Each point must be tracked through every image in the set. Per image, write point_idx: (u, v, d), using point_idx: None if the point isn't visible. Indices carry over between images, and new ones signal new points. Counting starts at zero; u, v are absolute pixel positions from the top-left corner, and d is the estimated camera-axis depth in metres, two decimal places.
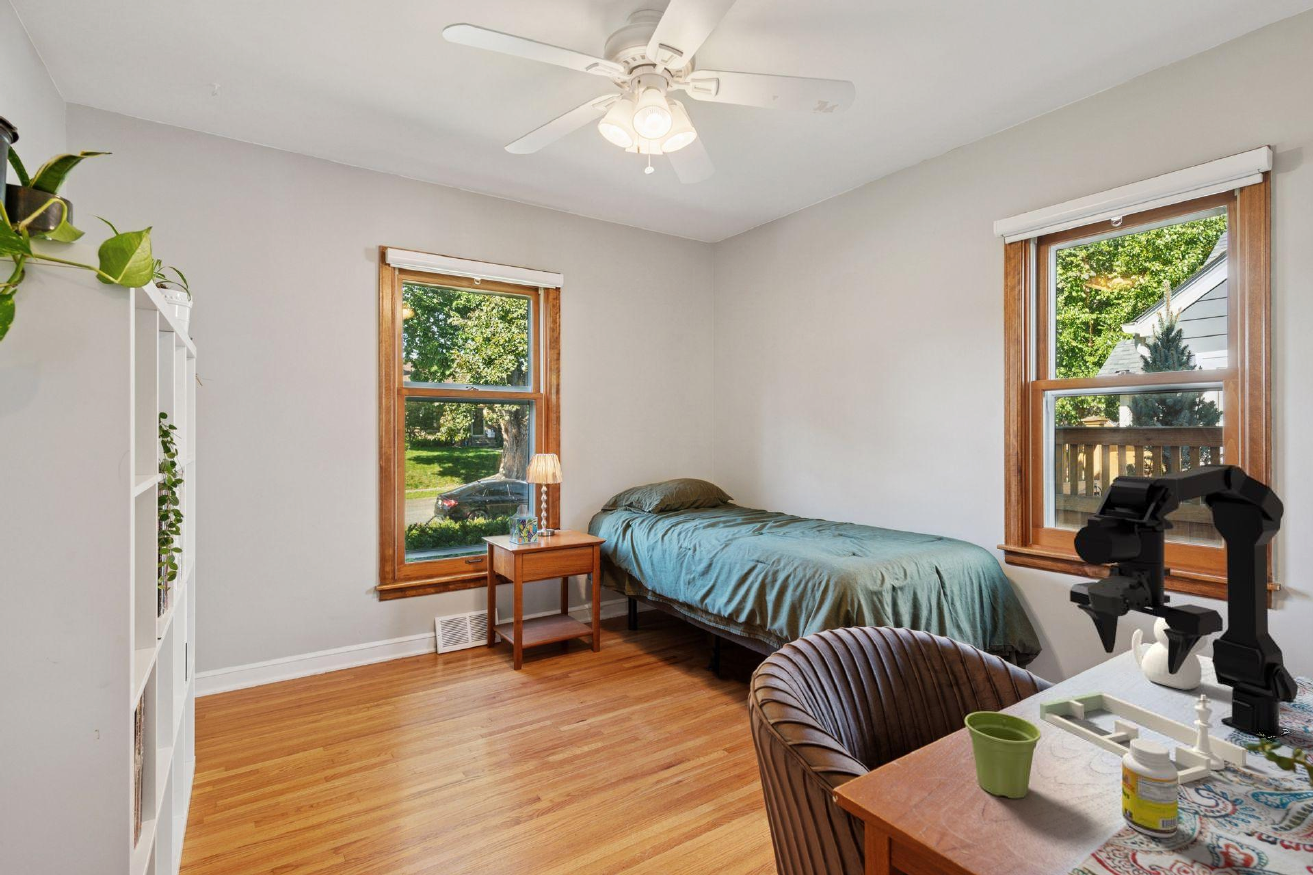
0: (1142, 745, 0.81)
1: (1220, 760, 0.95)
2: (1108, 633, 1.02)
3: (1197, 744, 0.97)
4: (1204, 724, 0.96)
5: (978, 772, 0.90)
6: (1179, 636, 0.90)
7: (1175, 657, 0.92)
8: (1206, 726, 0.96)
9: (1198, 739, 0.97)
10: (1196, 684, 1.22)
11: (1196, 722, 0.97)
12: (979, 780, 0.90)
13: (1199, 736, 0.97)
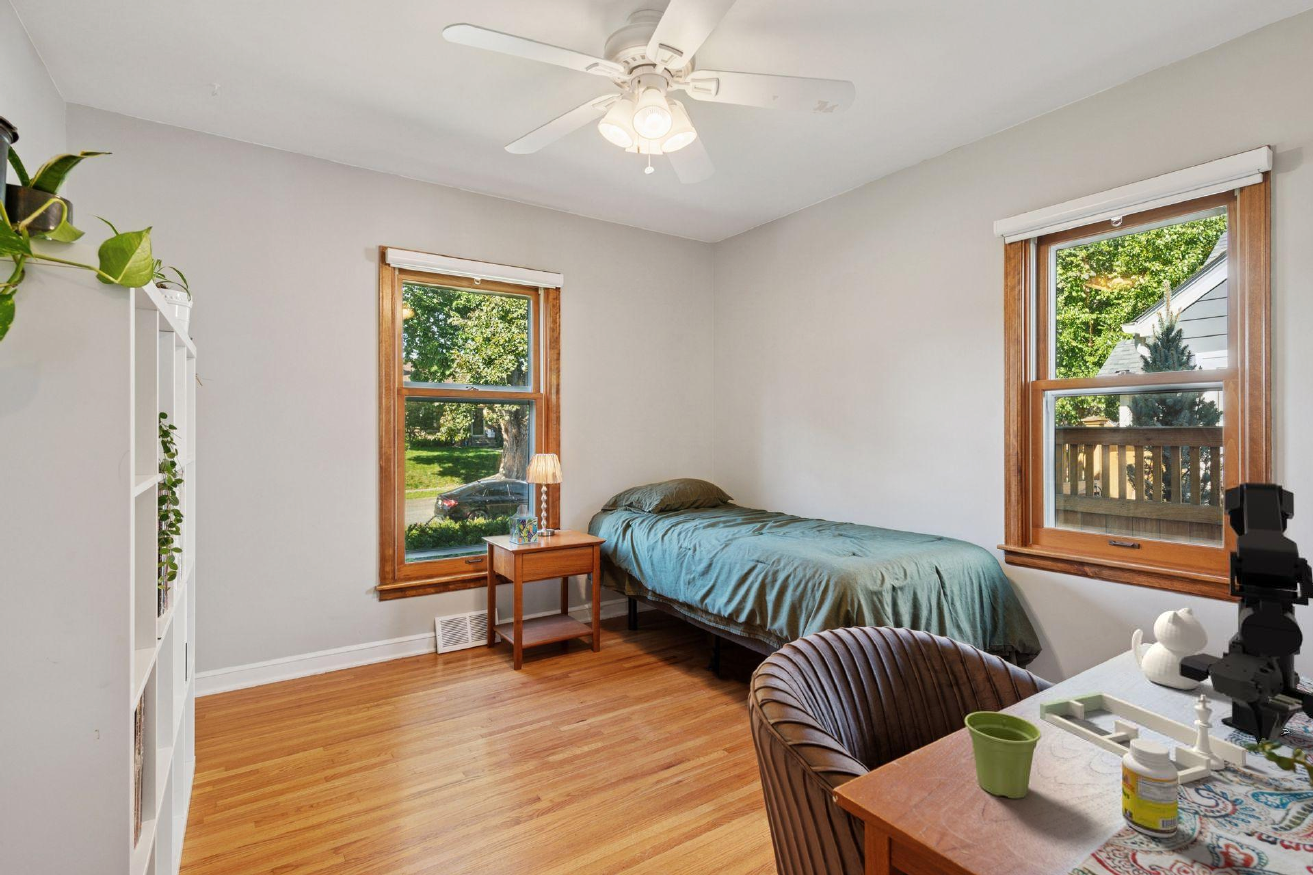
0: (1142, 745, 0.81)
1: (1220, 760, 0.95)
2: (1261, 725, 0.90)
3: (1197, 744, 0.97)
4: (1204, 724, 0.96)
5: (978, 772, 0.90)
6: (1276, 712, 0.86)
7: (1270, 732, 0.88)
8: (1206, 726, 0.96)
9: (1198, 739, 0.97)
10: (1196, 684, 1.22)
11: (1196, 722, 0.97)
12: (979, 780, 0.90)
13: (1199, 736, 0.97)
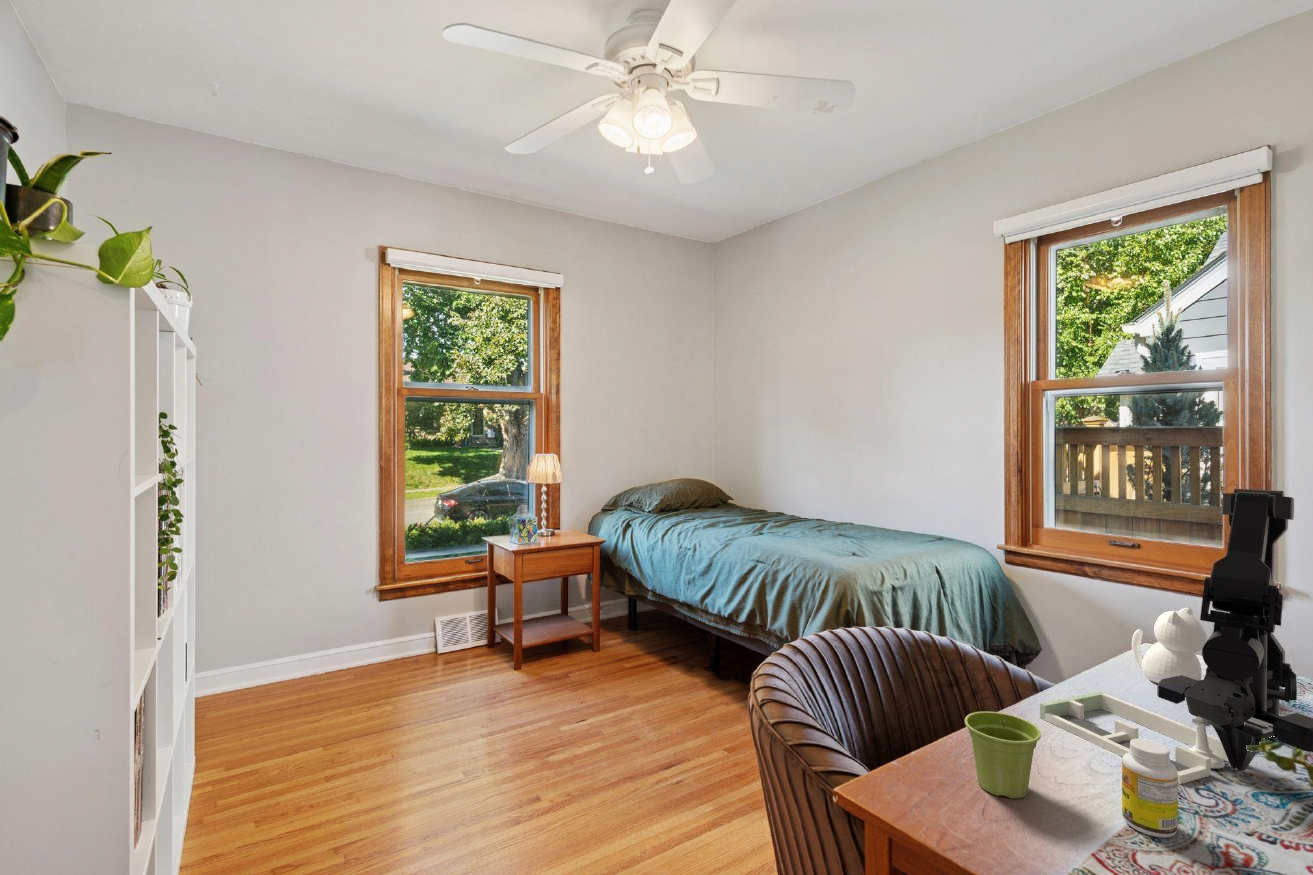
0: (1142, 745, 0.81)
1: (1220, 758, 0.95)
2: (1234, 746, 0.93)
3: (1196, 743, 0.97)
4: (1202, 723, 0.96)
5: (978, 772, 0.90)
6: (1251, 736, 0.89)
7: (1245, 755, 0.91)
8: (1204, 724, 0.96)
9: (1197, 738, 0.97)
10: None
11: (1194, 721, 0.97)
12: (979, 780, 0.90)
13: (1198, 735, 0.97)
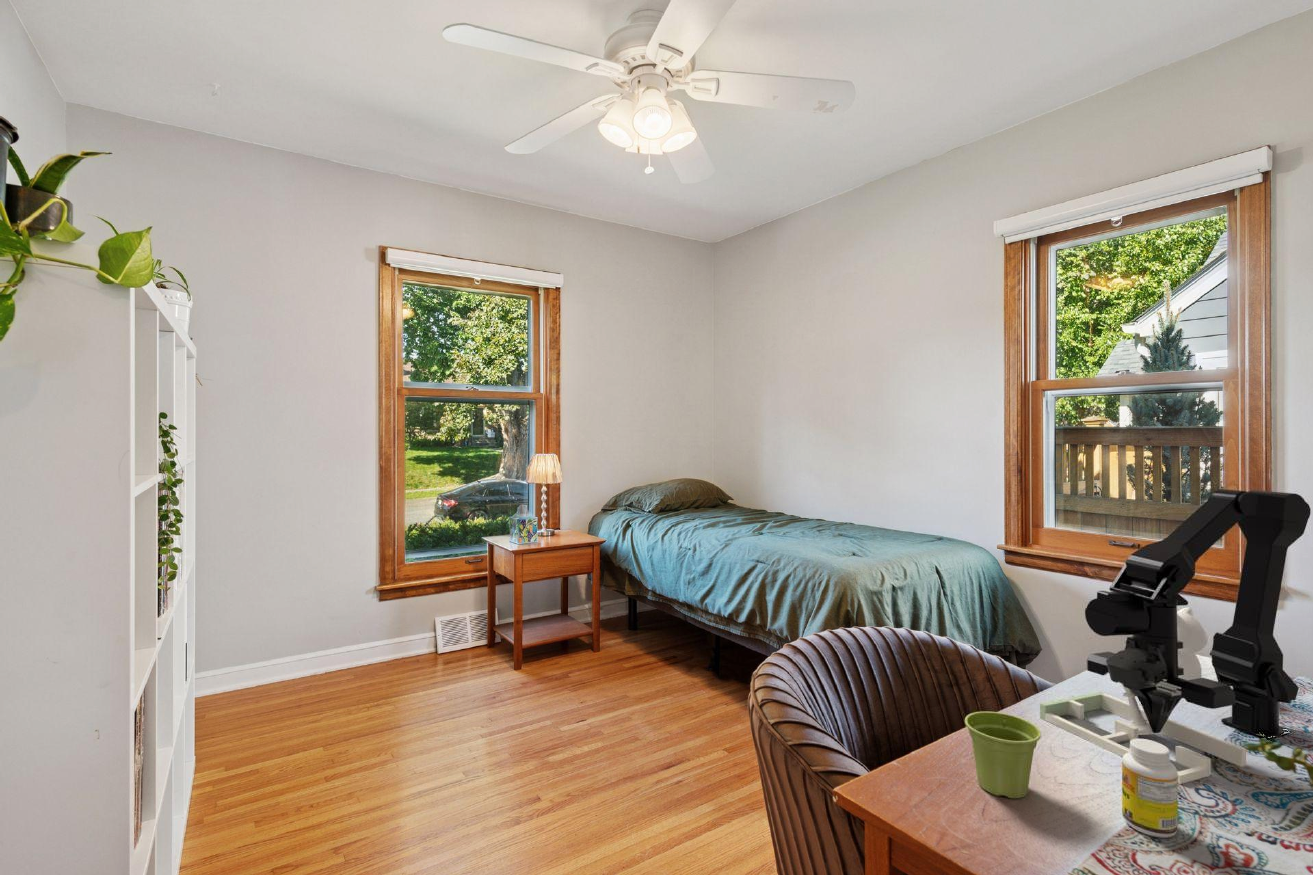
0: (1142, 745, 0.81)
1: None
2: None
3: (1131, 715, 1.05)
4: (1130, 694, 1.05)
5: (978, 772, 0.90)
6: (1161, 698, 0.99)
7: (1158, 717, 1.01)
8: (1132, 695, 1.05)
9: (1131, 710, 1.05)
10: None
11: (1124, 694, 1.06)
12: (979, 780, 0.90)
13: (1130, 707, 1.05)
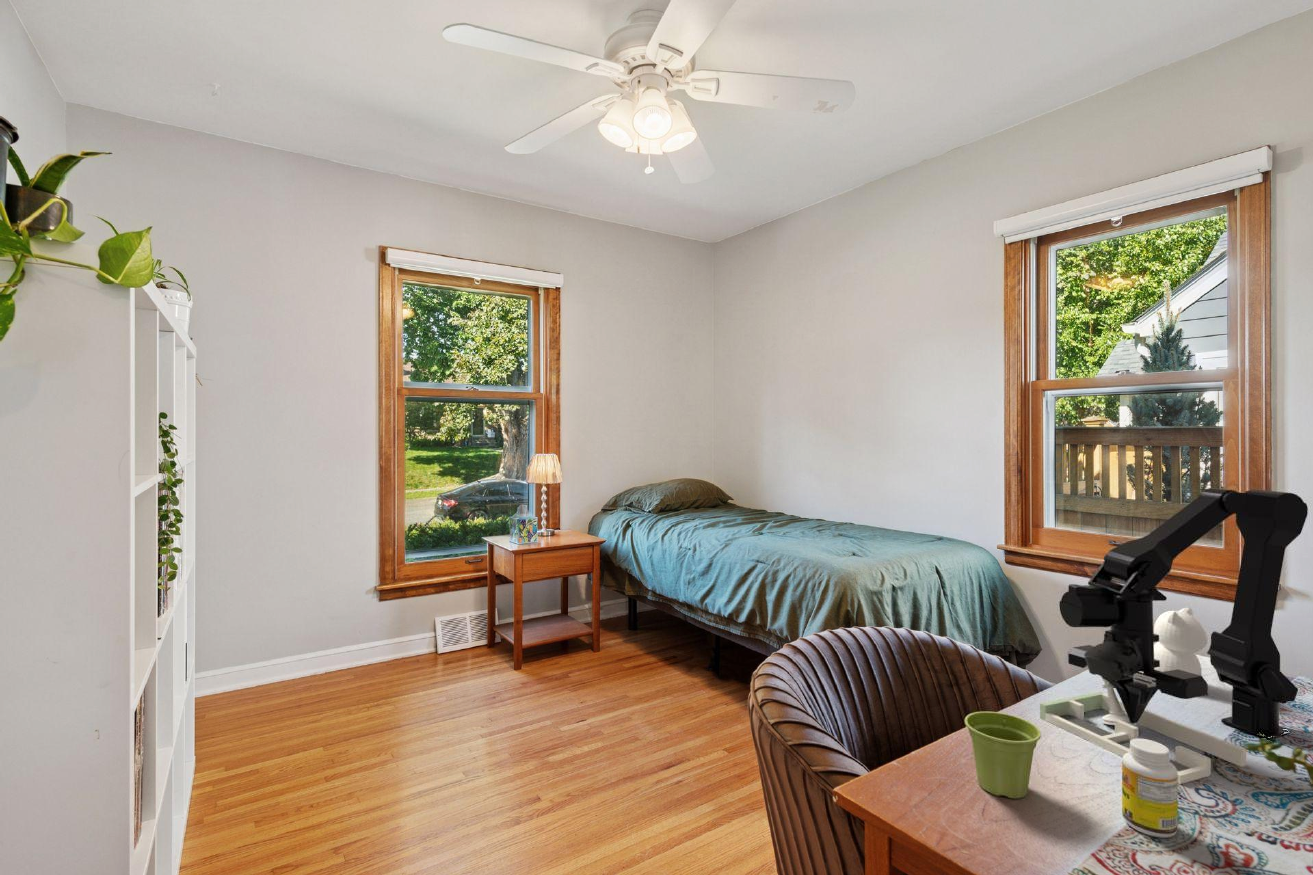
0: (1142, 745, 0.81)
1: None
2: None
3: (1110, 706, 1.09)
4: (1109, 685, 1.09)
5: (978, 772, 0.90)
6: (1138, 689, 1.03)
7: (1135, 708, 1.04)
8: (1111, 686, 1.09)
9: (1109, 701, 1.09)
10: None
11: (1103, 686, 1.10)
12: (979, 780, 0.90)
13: (1109, 698, 1.09)
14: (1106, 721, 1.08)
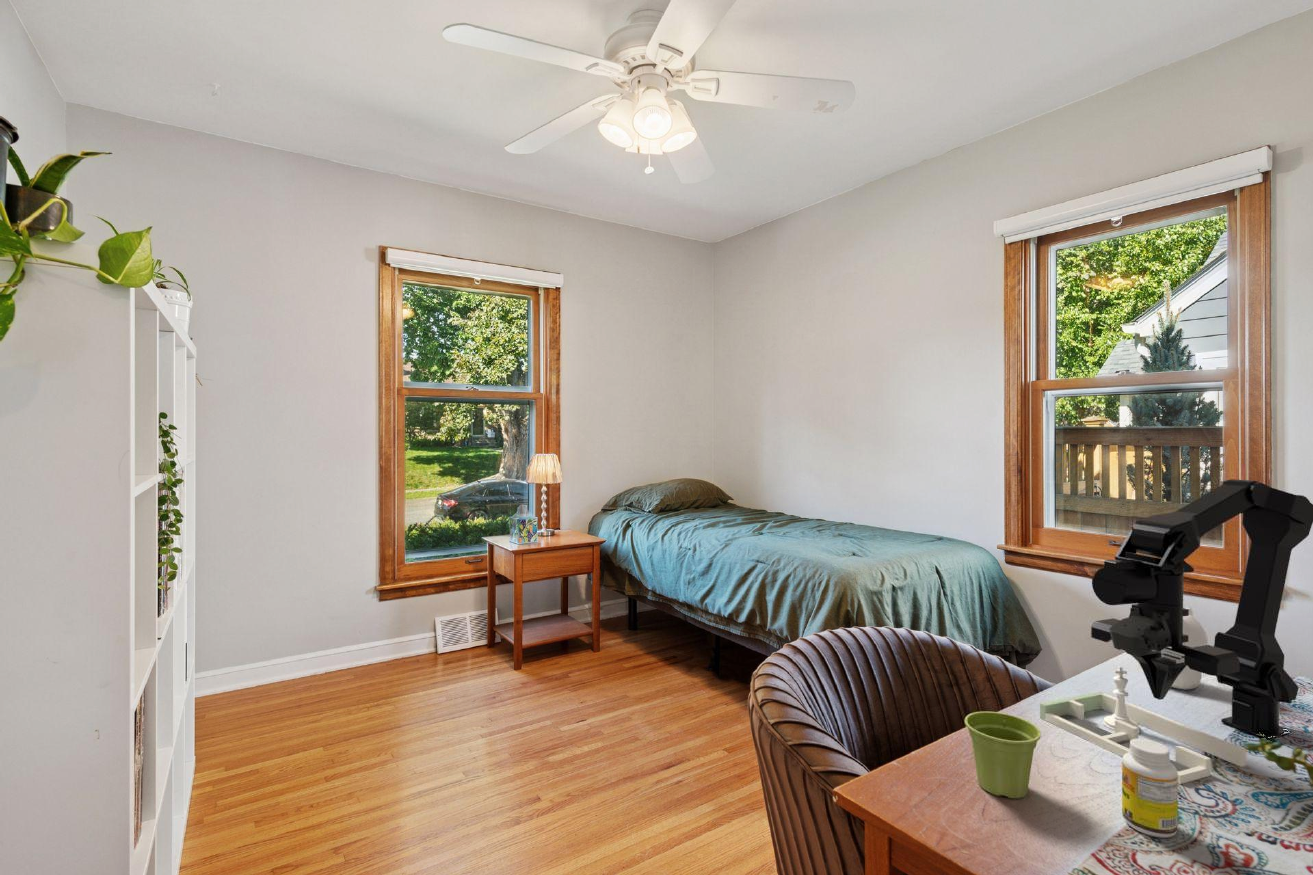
0: (1142, 745, 0.81)
1: (1135, 724, 1.06)
2: None
3: (1115, 711, 1.08)
4: (1121, 693, 1.07)
5: (978, 772, 0.90)
6: (1166, 666, 0.99)
7: (1162, 684, 1.01)
8: (1122, 694, 1.07)
9: (1116, 706, 1.08)
10: (1196, 684, 1.22)
11: (1114, 691, 1.08)
12: (979, 780, 0.90)
13: (1117, 704, 1.08)
14: (1107, 724, 1.08)
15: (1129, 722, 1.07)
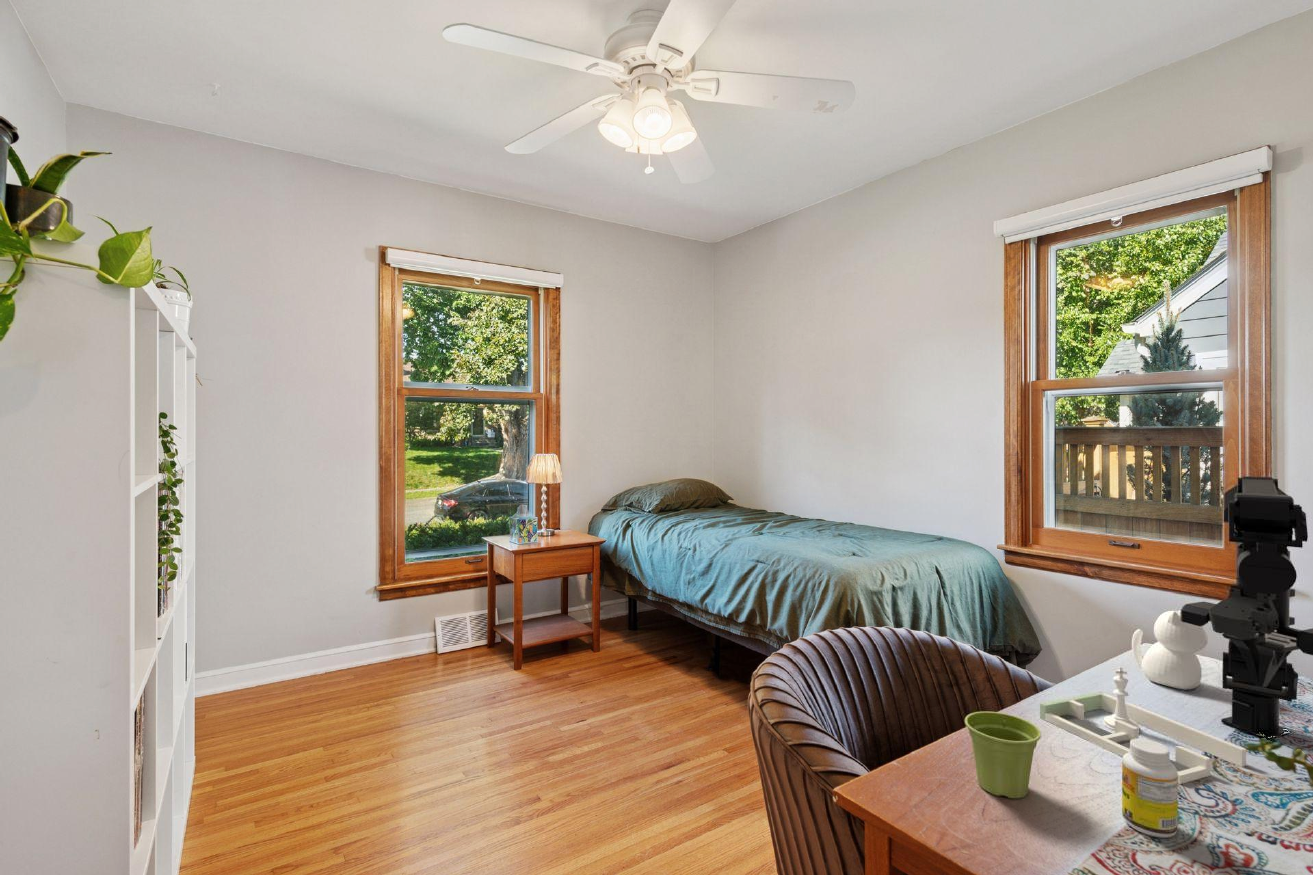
0: (1142, 745, 0.81)
1: (1135, 725, 1.06)
2: (1259, 665, 0.95)
3: (1115, 711, 1.08)
4: (1121, 693, 1.07)
5: (978, 772, 0.90)
6: (1272, 650, 0.91)
7: (1266, 670, 0.93)
8: (1122, 694, 1.07)
9: (1116, 706, 1.08)
10: (1196, 684, 1.22)
11: (1114, 691, 1.08)
12: (979, 780, 0.90)
13: (1117, 704, 1.08)
14: (1107, 724, 1.08)
15: (1129, 722, 1.07)
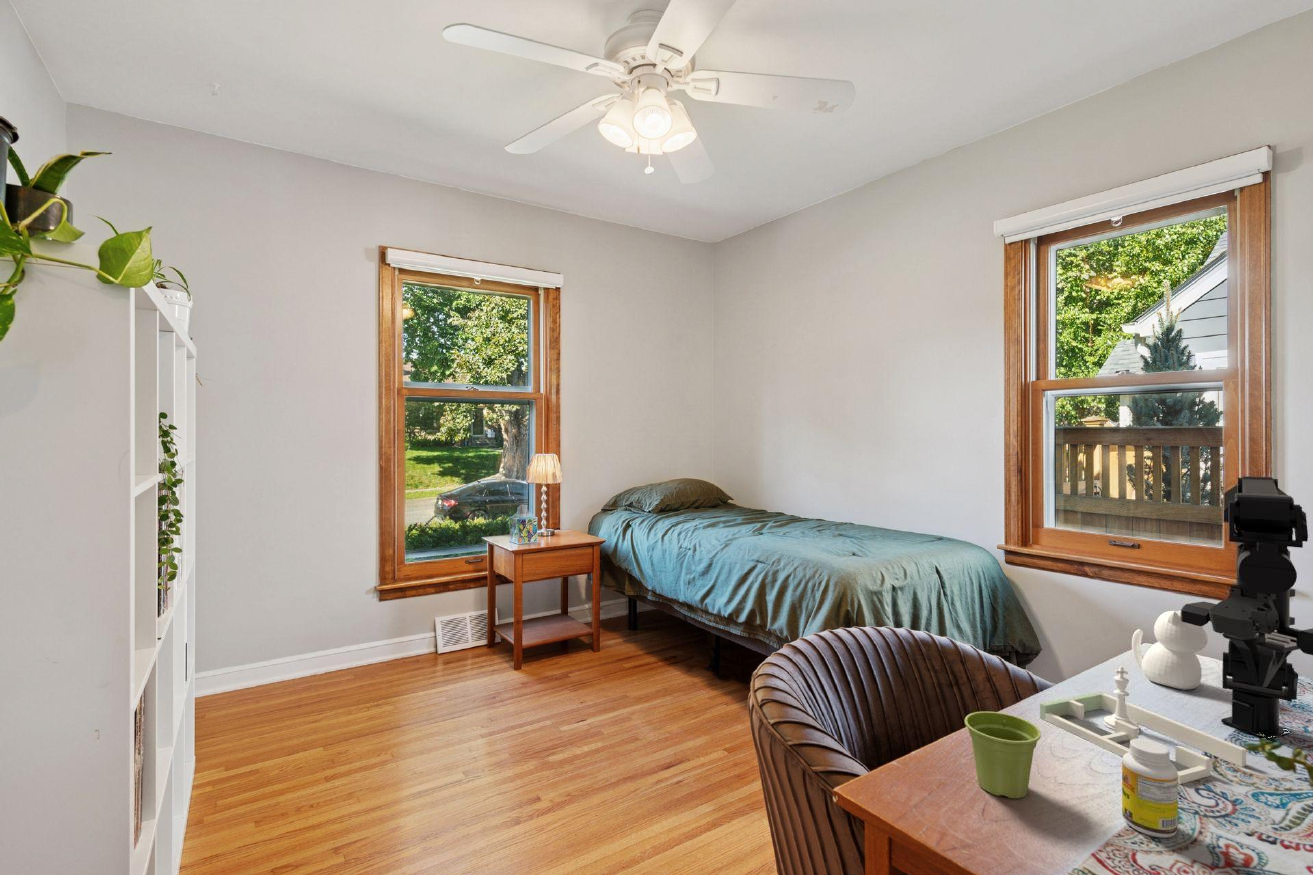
0: (1142, 745, 0.81)
1: (1135, 725, 1.06)
2: (1259, 665, 0.95)
3: (1116, 711, 1.08)
4: (1121, 693, 1.07)
5: (978, 772, 0.90)
6: (1273, 650, 0.91)
7: (1267, 670, 0.93)
8: (1123, 694, 1.07)
9: (1117, 706, 1.08)
10: (1196, 684, 1.22)
11: (1115, 691, 1.08)
12: (979, 780, 0.90)
13: (1117, 704, 1.08)
14: (1107, 724, 1.08)
15: (1129, 722, 1.07)
